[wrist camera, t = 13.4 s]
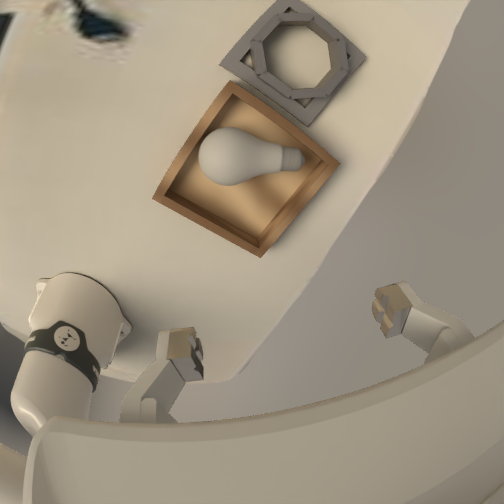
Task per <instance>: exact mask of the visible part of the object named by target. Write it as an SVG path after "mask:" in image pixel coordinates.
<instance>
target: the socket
mask: <svg viewBox="0 0 504 504" xmlns="http://www.w3.org/2000/svg"><path fill="white" fill-rule="evenodd" d="M287 8H288V9H290V10H291V11H292V12H294V13H283V12H284V11H285V10H286V9H287ZM289 25H306V26H307V27H308V28H309V29H311V30H312V31H313V32H315V33H316V34H317V35H318V36H320V37H321V38H322V39H323V40H324V41H326V42H327V43H328V49H329V55H330V62H331V70H330V71H329V72H328V73H327V74H326V76H325V77H324V78H323V79H322V80H321V81H320V82H319V84H318V85H317V86H316V87H315V88H304V89H291V88H290V87H288V86H287V85H286V84H284V83H283V82H282V81H280V80H279V79H277V78H276V77H275V76H273V75H272V74H271V73H269V72H268V71H267V68H266V62H265V56H264V50H263V44H262V41H263V40H264V39H265V38H266V37H267V36H268V35H269V34H270V33H271V32H272V30H273V29H274V28H275V27H276V26H289ZM249 49H250V55H251V60H252V66H253V69H251V68H250V67H248V66H246V65H245V64H243V63H242V62H240V60H241V58H242V57H243V56H244V55H245V54H246V53H247V51H248V50H249ZM347 56H348V57H347ZM365 58H366V56H365V55H364V54H363V53H362V52H361V51H360V50H359V49H358V48H357V47H356V46H355V45H354V44H352V43H351V42H350V41H349V40H348V39H347V38H346V37H345V36H344V35H343V34H341V33H340V32H339V31H338V30H337V29H336V28H334V27H333V26H332V25H331V24H330V23H328V22H327V21H326V20H325V19H324V18H322V17H321V16H320V15H318V14H317V13H316V12H315V11H313V10H312V9H311V8H309V7H308V6H307V5H305V4H304V3H302V2H301V1H300V0H277V1H276V2H275V3H274V4H273V5H272V6H271V7H270V8H269V9H268V10H267V11H266V12H265V13H264V14H263V15H262V16H261V17H260V18H259V19H258V20H257V21H256V22H255V23H254V24H253V25H252V26H251V27H250V29H249V30H248V31H247V32H246V33H245V34H244V35H243V36H242V37H241V39H240V40H239V41H238V42H237V43H236V44H235V46H234V47H233V48H232V49H231V50H230V51H229V53H228V54H227V55H226V56H225V58H224V59H223V60H222V61H221V62H220V64H219V65H220V66H222V67H223V68H225V69H226V70H228V71H230V72H231V73H233V74H234V75H236V76H238V77H239V78H241V79H242V80H244V81H245V82H247V83H248V84H250V85H251V86H253V87H254V88H256V89H257V90H259V91H260V92H261V93H263V94H264V95H266V96H267V97H269V98H270V99H271V100H273V101H274V102H275V103H277V104H278V105H279V106H281V107H282V108H283V109H285V110H286V111H287V112H289V113H290V114H291V115H293V116H294V117H295V118H297V119H298V120H299V121H300V122H302V123H303V124H304V125H305V126H307V127H308V125H309V124H310V123H311V122H312V121H313V119H314V118H315V117H316V116H317V114H318V113H319V112H320V111H321V110H322V108H323V107H324V106H325V105H326V104H327V102H328V101H329V100H330V99H331V98H332V96H333V95H334V94H335V93H336V92H337V91H338V89H339V88H340V87H341V86H342V85H343V84H344V82H345V81H346V80H347V79H348V78H349V77H350V75H351V74H352V73H353V72H354V71H355V70H356V68H357V67H358V66H359V65H360V64H361V63H362V62H363V60H364V59H365ZM299 98H312V99H311V100H310V101H309V102H308V103H307V105H306V106H305V107H303V106H302V105H300V104H299V103H298V102H297V101H295V100H294V99H299Z"/></svg>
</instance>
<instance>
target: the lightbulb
mask: <svg viewBox="0 0 504 504" xmlns="http://www.w3.org/2000/svg"><path fill="white" fill-rule="evenodd" d="M304 163H305V157H304V156H303V155H302V153H301V150H300V149H298V148H292V147H285V146H281V145H280V144H277V143H270V142H266V141H263V140H261V139H258V138H256V137H254V136H253V135H251V134H249V133H247V132H245V131H243V130H241V129H239V128H235V127H224V128H220V129H217V130H215V131H213V132H211V133H210V134H209V135H208V136H207V137H206V138H205V139H204V141H203V142H202V144H201V146H200V150H199V164H200V167H201V169H202V171H203V173H204V174H205V176H206V177H207V178H209V179H210V180H211V181H213V182H214V183H217V184H219V185H224V186H232V185H237V184H240V183H242V182H244V181H247V180H249V179H251V178H253V177H255V176H258V175H262V174H268V173H279V172H280V171H288V172H289V171H291V172H293V171H299V170H300V168H301V166H302V165H304Z"/></svg>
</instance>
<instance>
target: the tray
mask: <svg viewBox="0 0 504 504" xmlns="http://www.w3.org/2000/svg"><path fill="white" fill-rule="evenodd" d="M224 127H235V128H239V129H241V130H243V131H245V132H247V133H249V134H251V135H253V136H254V137H256V138H258V139H261V140H263V141H266V142H270V143H277V144H280V145H281V146H285V147H292V148H298V149H300V150H301V153H302V155H303V156H304V157H305V163H304V165H302V166H301V168H300V170H299V171H293V172H291V171H289V172H288V171H280V172H279V173H268V174H262V175H258V176H255V177H253V178H251V179H249V180H247V181H244V182H242V183H240V184H237V185H232V186H224V185H219V184H217V183H214V182H213V181H211V180H210V179H209V178H207V177H206V176H205V174H204V173H203V171H202V169H201V167H200V164H199V150H200V146H201V144H202V142H203V141H204V139H205V138H206V137H207V136H208V135H209V134H210V133H211V132H213V131H215V130H217V129H220V128H224ZM339 164H340V163H339V162H338V161H337V160H336V159H334V158H333V157H332V156H331V155H330V154H329V153H328V152H326V151H325V150H324V149H323V148H322V147H321V146H319V145H318V144H317V143H316V142H315V141H313V140H312V139H311V138H310V137H308V136H307V135H306V134H305V133H304V132H302V131H301V130H300V129H298V128H297V127H296V126H295V125H293V124H292V123H291V122H289V121H288V120H287V119H286V118H284V117H283V116H282V115H280V114H279V113H277V112H276V111H275V110H273V109H272V108H271V107H269V106H268V105H266V104H265V103H264V102H262V101H261V100H259V99H258V98H256V97H255V96H254V95H252V94H251V93H249V92H248V91H246V90H245V89H243V88H242V87H240V86H239V85H237V84H235V83H234V82H232V81H231V80H230V81H229V82H228V83H227V84H226V86H225V87H224V88H223V90H222V91H221V92H220V94H219V95H218V96H217V98H216V99H215V100H214V102H213V103H212V104H211V106H210V107H209V109H208V110H207V111H206V113H205V114H204V116H203V117H202V118H201V120H200V121H199V123H198V124H197V126H196V127H195V129H194V130H193V132H192V133H191V135H190V136H189V138H188V139H187V141H186V142H185V144H184V145H183V147H182V148H181V150H180V152H179V153H178V155H177V156H176V158H175V160H174V161H173V163H172V164H171V166H170V168H169V169H168V171H167V173H166V174H165V176H164V178H163V180H162V181H161V183H160V185H159V187H158V188H157V190H156V192H155V194H154V196H153V198H152V199H153V200H155V201H157V202H159V203H161V204H163V205H164V206H166V207H168V208H170V209H172V210H173V211H175V212H177V213H179V214H181V215H183V216H184V217H186V218H188V219H190V220H192V221H194V222H195V223H197V224H199V225H201V226H203V227H205V228H206V229H208V230H210V231H212V232H214V233H216V234H217V235H219V236H221V237H223V238H225V239H227V240H228V241H230V242H232V243H234V244H236V245H238V246H239V247H241V248H243V249H245V250H247V251H249V252H250V253H252V254H254V255H256V256H258V257H260V258H261V257H262V256H263V255H264V254H265V253H266V251H267V250H268V249H269V248H270V247H271V245H272V244H273V243H274V242H275V241H276V240H277V238H278V237H279V236H280V235H281V234H282V233H283V231H284V230H285V229H286V228H287V227H288V225H289V224H290V223H291V222H292V221H293V219H294V218H295V217H296V216H297V215H298V214H299V212H300V211H301V210H302V209H303V208H304V206H305V205H306V204H307V203H308V202H309V200H310V199H311V198H312V197H313V196H314V194H315V193H316V192H317V191H318V190H319V188H320V187H321V186H322V185H323V184H324V182H325V181H326V180H327V179H328V178H329V176H330V175H331V174H332V173H333V172H334V170H335V169H336V168H337V167H338V166H339Z"/></svg>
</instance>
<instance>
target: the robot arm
mask: <svg viewBox="0 0 504 504" xmlns="http://www.w3.org/2000/svg"><path fill="white" fill-rule="evenodd" d="M36 290H37V298H38V299H37V301H36V303H35V305H34V308H33V310H32V312H31V314H30V316H29V322H30V328H31V330H32V333H31V335H30V337H29V339H28V341H27V342H26V345H25V349H24V353H23V356H24V359H23V362H22V365H21V367H20V370H19V373H18V375H17V378H16V381H15V384H14V387H13V390H12V393H11V405H12V409H13V411H14V414H15V416H16V417H17V419H18V420H19V421H20V423H21V424H22V425H23V427H24V428H25V429H26V430H27V431H28V432H29V433H30V434H31V435H32V436H33V440H32V442H31V445H30V448H29V453H28V457H26V456H24V455H22V454H20V453H18V452H16V451H14V450H12V449H10V448H8V447H6V446H5V445H3V444H1V443H0V504H504V320H503V321H501V322H500V323H498V324H497V325H495V326H494V327H492V328H490V329H489V330H487V331H486V332H484V333H483V334H481V335H479V336H477V337H476V338H475V337H474V336H473V334H472V333H471V332H470V330H469V329H468V328H467V326H466V325H465V323H464V322H463V321H462V320H460V319H458V318H456V317H454V316H452V315H450V314H448V313H446V312H444V311H442V310H440V309H438V308H436V307H434V306H432V305H430V304H428V303H425V302H424V303H422V302H421V300H420V299H419V298H418V296H417V295H416V294H415V292H414V291H413V290H412V289H411V287H410V286H409V285H408V284H407V282H405V281H402V282H398V283H395V284H391V285H388V286H385V287H381V288H377V289H376V291H375V297H376V299H375V300H374V301H373V305H372V312H373V315H374V318H375V320H376V321H377V322H379V323H381V327H380V329H381V330H382V332H383V334H384V336H385V337H386V338H389V337H392V336H396V335H399V334H402V335H403V336H404V337H405V338H407V339H409V340H410V341H411V342H413V343H414V344H416V345H417V346H419V347H420V348H421V349H423V350H424V351H426V352H427V353H428V354H429V355H428V356H427V358H426V360H425V362H424V365H422V366H420V367H417V368H415V369H413V370H410V371H408V372H406V373H403V374H401V375H399V376H396V377H393V378H391V379H389V380H386V381H383V382H380V383H378V384H375V385H372V386H370V387H367V388H363V389H360V390H358V391H354V392H351V393H348V394H345V395H342V396H338V397H335V398H331V399H328V400H324V401H320V402H316V403H312V404H308V405H304V406H300V407H296V408H291V409H286V410H281V411H276V412H271V413H265V414H260V415H253V416H247V417H240V418H232V419H224V420H214V421H203V422H189V423H178V422H177V421H176V420H175V419H174V418H173V417H172V416H171V415H170V414H169V413H168V412H169V411H170V409H171V407H172V405H173V404H174V402H175V400H176V399H177V397H178V395H179V393H180V392H181V390H182V388H183V387H184V385H185V382H190V381H198V380H204V375H203V365H202V363H201V361H202V360H203V350H202V345H201V342H200V340H199V338H197V337H196V331H195V329H194V327H190V328H181V329H172V330H164V331H160V332H159V335H158V342H157V350H156V357H155V361H152V362H151V363H150V365H149V366H148V367H147V368H146V370H145V371H144V372H143V373H142V374H141V376H140V377H139V378H138V379H137V381H136V382H135V383H134V384H133V386H132V387H131V388H130V389H129V391H128V392H127V393H126V394H125V395H124V397H123V399H122V406H121V413H120V421H119V423H117V422H103V421H93V420H88V416H89V407H90V401H91V396H92V393H93V392H94V391H95V390H96V386H97V384H98V381H99V374H100V368H103V369H107V367H108V365H109V364H111V362H112V360H113V357H114V353H115V349H116V346H117V345H118V344H119V343H120V342H121V341H122V340H123V339H124V338H125V337H126V336H127V335H128V334H129V333H130V332H131V329H132V326H131V325H130V323H129V322H128V321H127V320H126V319H125V318H124V317H123V315H122V313H121V310H120V307H119V305H118V303H117V302H116V300H115V299H114V297H113V296H112V295H111V294H110V293H109V292H108V291H107V290H106V289H105V288H104V287H103V286H101V285H100V284H98V283H97V282H95V281H94V280H92V279H90V278H88V277H85V276H82V275H79V274H73V273H64V274H60V275H57V276H55V277H54V278H51V279H40V280H38V282H37V284H36Z"/></svg>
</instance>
